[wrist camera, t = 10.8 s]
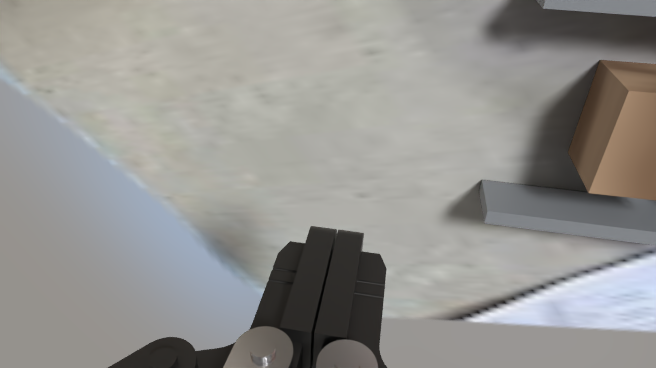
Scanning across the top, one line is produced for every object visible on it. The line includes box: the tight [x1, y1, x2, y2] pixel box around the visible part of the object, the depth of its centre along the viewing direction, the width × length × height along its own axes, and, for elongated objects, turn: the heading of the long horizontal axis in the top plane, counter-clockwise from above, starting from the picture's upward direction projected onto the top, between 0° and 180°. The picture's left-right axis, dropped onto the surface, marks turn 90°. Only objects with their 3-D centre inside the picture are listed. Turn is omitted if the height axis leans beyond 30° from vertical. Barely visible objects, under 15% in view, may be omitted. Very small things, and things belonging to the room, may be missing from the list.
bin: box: [479, 0, 656, 245], centre depth 22 cm, size 11×12×3 cm
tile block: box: [568, 60, 656, 200], centre depth 22 cm, size 5×5×4 cm
